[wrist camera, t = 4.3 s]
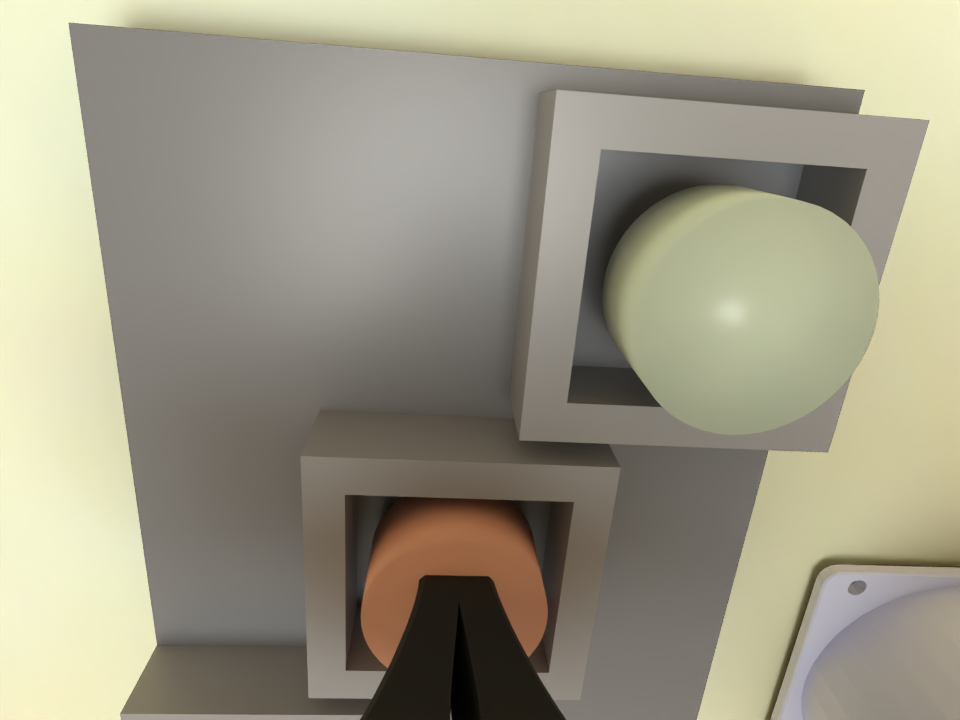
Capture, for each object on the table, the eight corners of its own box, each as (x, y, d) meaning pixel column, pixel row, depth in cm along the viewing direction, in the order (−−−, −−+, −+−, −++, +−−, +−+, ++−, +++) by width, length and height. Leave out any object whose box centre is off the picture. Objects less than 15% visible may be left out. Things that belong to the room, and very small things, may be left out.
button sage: (830, 191, 11) (912, 207, 9) (777, 388, 12) (840, 439, 10) (618, 175, 10) (657, 189, 8) (589, 379, 12) (616, 430, 10)
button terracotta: (542, 484, 14) (558, 543, 12) (526, 617, 15) (537, 689, 13) (372, 478, 13) (361, 538, 11) (370, 614, 15) (360, 687, 13)
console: (806, 93, 14) (940, 86, 10) (649, 756, 21) (692, 893, 17) (124, 36, 12) (-7, 5, 9) (207, 756, 20) (153, 902, 16)
